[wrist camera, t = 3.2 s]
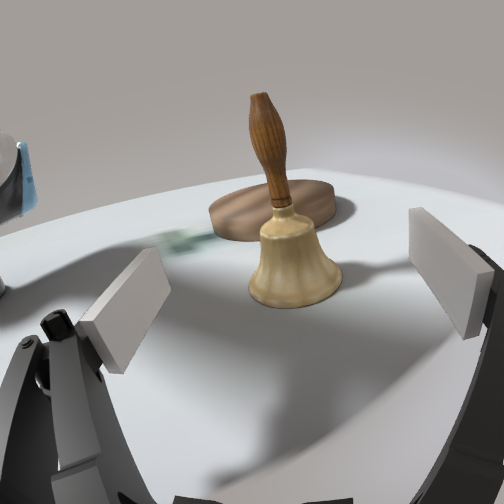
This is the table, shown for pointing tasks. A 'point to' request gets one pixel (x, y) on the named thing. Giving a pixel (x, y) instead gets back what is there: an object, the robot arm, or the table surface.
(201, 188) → the table surface
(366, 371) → the table surface
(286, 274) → the hand bell
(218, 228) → the walnut stand
